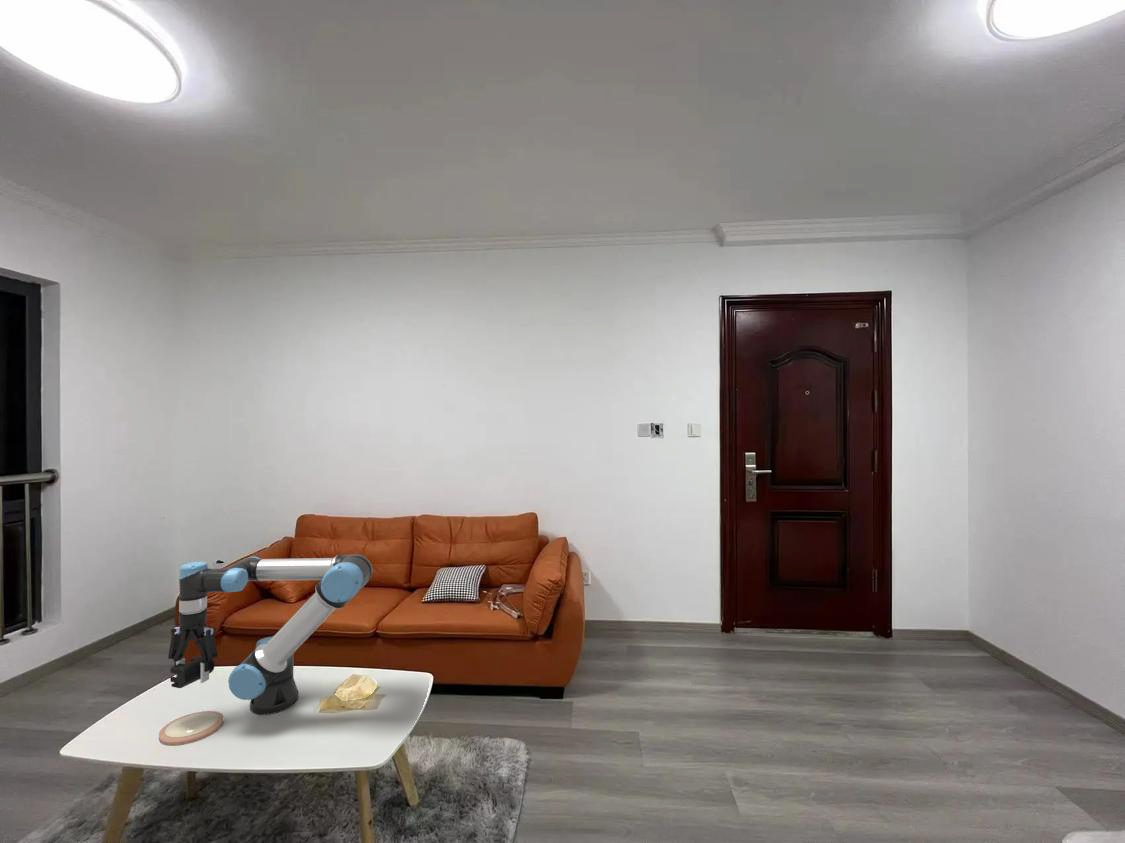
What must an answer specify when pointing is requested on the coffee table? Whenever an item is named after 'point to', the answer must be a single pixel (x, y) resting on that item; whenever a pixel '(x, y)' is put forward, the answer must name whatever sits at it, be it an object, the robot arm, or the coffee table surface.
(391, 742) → the coffee table surface
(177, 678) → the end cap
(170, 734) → the plate
